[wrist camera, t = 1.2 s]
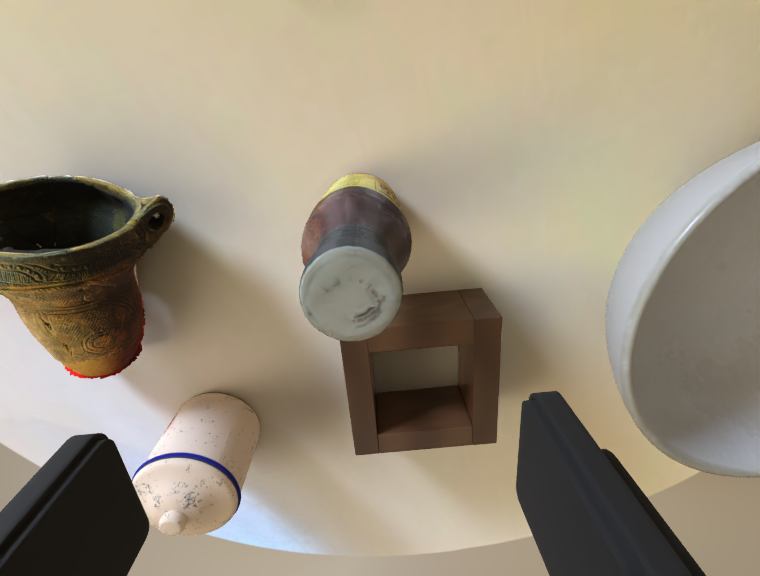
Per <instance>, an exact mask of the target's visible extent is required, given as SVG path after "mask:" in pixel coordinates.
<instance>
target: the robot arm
mask: <svg viewBox="0 0 760 576" xmlns="http://www.w3.org/2000/svg"><path fill="white" fill-rule="evenodd" d="M516 490H517V496H518V499H519V502H520V505H521V507H522V510H523V512H524V515H525V517H526V520H527V522H528V524H529V527H530V529H531V532H532V534H533V536H534V539H535V541H536V544H537V546H538V549H539V551H540V553H541V556H542V558H543V561H544V563H545V566H546V568H547V570H548V573H549V575H550V576H706V575H705V574H704V572H703V571H702V570H701V568H700V567H699V566H698V564H697V563H696V562H695V560H694V559H693V558H692V557H691V555H690V554H689V552H688V551H687V550H686V548H685V547H684V546H683V545H682V543H681V542H680V541H679V539H678V538H677V537H676V535H675V534H674V533H673V532H672V530H671V529H670V527H669V526H668V525H667V524H666V522H665V521H664V519H663V518H662V517H661V516H660V514H659V513H658V512H657V510H656V509H655V508H654V506H653V505H652V504H651V502H650V501H649V500H648V498H647V497H646V496H645V494H644V493H643V492H642V490H641V489H640V488H639V486H638V485H637V484H636V482H635V481H634V480H633V479H632V477H631V476H630V475H629V473H628V472H627V471H626V469H625V468H624V467H623V465H622V464H621V463H620V461H619V460H618V459H617V458H616V457H615V455H614V454H613V453H612V452H610V451H608V450H607V449H600V448H599V446H598V445H597V443H596V442H595V441H594V439H593V438H592V437H591V435H590V434H589V432H588V431H587V430H586V428H585V427H584V426H583V424H582V423H581V421H580V420H579V419H578V417H577V416H576V415H575V413H574V412H573V411H572V409H571V408H570V406H569V405H568V404H567V402H566V401H565V400H564V398H563V397H562V395H561V394H560V393H559V392H557V391H552V392H541V393H532V394H531V395H530V397H529V400H526V401H523V403H522V411H521V424H520V438H519V452H518V466H517V480H516ZM148 531H149V519H148V517H147V515H146V512H145V510H144V508H143V506H142V503H141V501H140V499H139V497H138V494H137V492H136V490H135V488H134V485H133V483H132V481H131V479H130V476H129V474H128V472H127V470H126V467H125V465H124V463H123V461H122V458H121V456H120V454H119V452H118V449H117V447H116V445H115V443H114V441H113V440H111V439H108V437H107V436H106V435H104V434H102V433H97V434H86V435H75V436H73V437H71V438H69V439H68V440H67V441H66V442H65V443H64V444H63V445H62V446H61V447H60V448H59V449H58V451H57V452H56V453H55V454H54V455H53V456H52V457H51V458H50V459H49V460H48V461H47V462H46V463H45V465H44V466H43V467H42V468H41V469H40V470H39V471H38V472H37V473H36V474H35V475H34V476H33V478H31V480H30V481H29V482H28V483H27V484H26V485H25V486H24V487H23V488H22V489H21V490H20V492H19V493H18V494H17V495H16V496H15V497H14V498H13V499H12V500H11V501H10V502H9V503H8V504H7V505H6V506H5V508H4V509H3V510H2V511H1V512H0V576H127V574H128V572H129V570H130V568H131V567H132V565H133V563H134V561H135V559H136V557H137V555H138V553H139V551H140V549H141V547H142V545H143V544H144V542H145V539H146V537H147V535H148Z"/></svg>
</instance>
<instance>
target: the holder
mask: <svg viewBox="0 0 760 576" xmlns="http://www.w3.org/2000/svg"><path fill="white" fill-rule="evenodd" d="M501 329H502V317H501V315H500V314H499V313H498V311H497V310H496V308H495V307H494V305H493V304H492V303H491V301H490V300H489V298H488V297H487V295H486V294H485V293H484V291H483V290H482V288H478V289H467V290H456V291H444V292H433V293H422V294H411V295H403V299H402V303H401V307H400V310H399V312H398V314H397V316H396V318H395V319H394V320H393V321H392V322H391V324H390V325H389V326H388V327H387V328H385V330H384V331H383V332H381V333H380V334H378V335H376V336H374V337H372V338H368V339H365V340H362V341H342V340H340V346H341V353H342V360H343V367H344V374H345V382H346V389H347V396H348V403H349V411H350V418H351V425H352V432H353V439H354V447H355V454H356V455H365V454H376V453H379V452H380V453H387V452H398V451H409V450H420V449H431V448H442V447H453V446H464V445H472V444H473V445H478V444H489V443H496V440H497V418H498V396H499V374H500V352H501ZM453 345H458V386H450V387H439V388H428V389H417V390H406V391H394V392H383V393H376V391H375V382H374V372H373V362H372V353H374V352H385V351H397V350H408V349H419V348H430V347H441V346H453Z"/></svg>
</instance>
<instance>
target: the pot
mask: <svg viewBox="0 0 760 576" xmlns="http://www.w3.org/2000/svg"><path fill="white" fill-rule="evenodd" d="M156 213H158V214H159V215H160V216H157V217H158V218H157V217H155V216H153V215H154V214H156ZM174 218H175V213H174V208H173V205H172V204H171V203H170V202H169V201H168V198H165V197H164V196H160V195H156V196H154V197H148V198H146V197H143V198H141V199H139V197H136V196H134V195H133V193H132V192H131V191H129V190H126V188H124V189H122V188H120V187H119V186H116V185H114V184H112V183H109V182H107V181H104V182H103V181H102V180H101V179H96V178H95V179H94V178H87V177H82V176H76V177H75V178H74V177H71V176H69V175H68V176H48V177H47V176H46V175H41V176H38V177H29V178H28V179H18V180H10V181H7V182H4V183H2V184H0V294H1V295H3V296H5V297H6V298H8V299H9V300H10V301H11V302H12V304H13V305H14V307H15V309H16V311H17V313H18V314H19V316H20V318H21V319H22V321H23V322H24V324H25V325H26V327H27V328H28V329H29V331H30V332H31V333H32V335H33V336H34V337H35V338H36V339H37V340H38V342H40V343H41V344H42V345H43V346H44V347H45V349H46V350H47V351H48V352H49V353H50V354H51V355H52V356H53V357H54V358H55V359H56V360H58V361H60V362H61V363H62V364H63V365H64V366H65V369H67V371H70V375H72V374H73V375H74V376H78V377H79V378H87V377H88V378H91V379H93V378H98V377H101V378H100V379H103V378H106V377H108V376H111V375H116V373H120V372H121V371H122V370H123V369H125V368H126V367H128V366H129V365H130V364H131V363H132V362H133V361H135V360H136V359H137V357H136V356H139V354H140V352H142V345H141V341H142V339H143V336H144V327H143V326H144V325H145V318H144V316H145V314H144V308H143V300H142V294H141V292H139V291H140V290H139V288H138V287H139V284H138V278H137V275H136V262H137V259H142V258H143V255H144V254H145V252H146V251H147V250H148V249H151V248H152V247H153V246H154V245H155V244H156V243H157V242H158V240H159V239H160V237H161V236H162V234H163V233H164V232H165V231H167V230H168V228H169V226H170V225H171V224H172V222H173V221H174Z"/></svg>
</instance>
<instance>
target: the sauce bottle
mask: <svg viewBox="0 0 760 576" xmlns="http://www.w3.org/2000/svg"><path fill="white" fill-rule="evenodd" d="M411 246H412V239H411V232H410V228H409V225H408V223H407V220H406V218H405V216H404V214H403V212H402V210H401V208H400V205H399V203H398V201H397V199H396V197H395V195H394V193H393V191H392V190H391V189H390V187H389V186H388V185H387V184H386V183H384V182H383V181H382V180H380V179H379V178H377V177H375V176H372V175H369V174H350V175H347V176H344V177H342V178H340V179H339V180H337V181H336V182H335V183H334V184H333V185H332V186H331V187H330V188H329V190H328V191H327V192H326V193H325V195H324V196H323V197H322V199H321V200H320V201H319V202H318V204H317V205H316V206H315V208H314V209H313V211H312V213H311V215H310V217H309V219H308V221H307V223H306V226H305V229H304V233H303V237H302V245H301V249H302V257H303V263H304V265H305V269H304V271H303V274H302V277H301V281H300V286H299V298H300V302H301V305H302V308H303V311H304V314H305V316H306V318H307V319H308V320H309V322H310V323H311V324H312V325H313V326H314V327H315V328H316V329H317V330H318V331H321V332H323V333H324V334H326V335H327V336H330V337H332V338H335V339H337V340H342V341H362V340H365V339H368V338H372V337H374V336H376V335H378V334H380V333H381V332H383V331H384V330H385V328H387V327H388V326H389V325H390V324H391V322H392V321H393V320H394V319H395V318H396V316H397V314H398V312H399V310H400V307H401V303H402V299H403V286H402V276H401V272H402V270H403V269H404V268H405V266H406V264H407V262H408V260H409V257H410V253H411Z"/></svg>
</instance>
